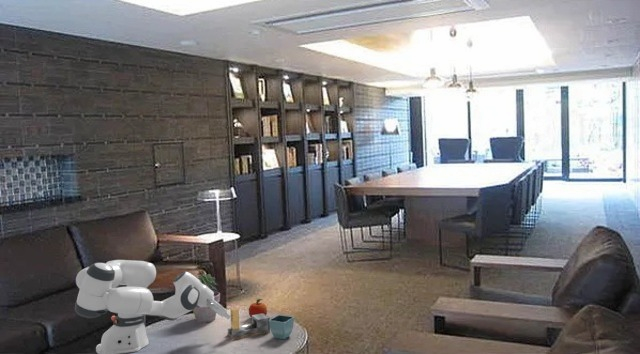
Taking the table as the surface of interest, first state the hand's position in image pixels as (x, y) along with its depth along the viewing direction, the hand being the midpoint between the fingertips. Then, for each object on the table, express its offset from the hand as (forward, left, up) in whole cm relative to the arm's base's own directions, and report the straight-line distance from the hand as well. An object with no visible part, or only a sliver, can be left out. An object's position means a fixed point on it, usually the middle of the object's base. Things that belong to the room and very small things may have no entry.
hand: (225, 314), depth 258 cm
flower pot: (+23, -12, -12) cm, 28 cm away
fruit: (+24, +19, -11) cm, 32 cm away
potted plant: (+1, +32, -11) cm, 34 cm away
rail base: (+11, +1, -11) cm, 16 cm away
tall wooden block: (+8, +1, -10) cm, 13 cm away
